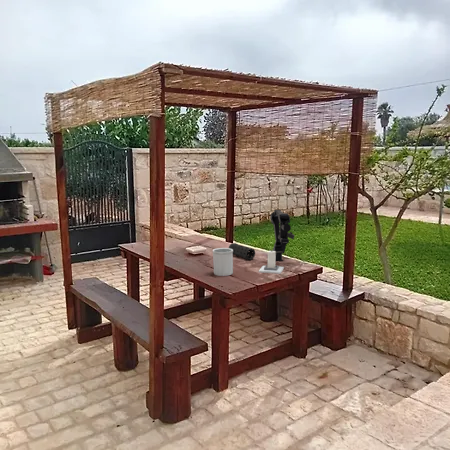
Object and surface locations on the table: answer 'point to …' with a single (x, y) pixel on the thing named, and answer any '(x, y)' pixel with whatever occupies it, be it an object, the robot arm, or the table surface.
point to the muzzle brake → (242, 251)
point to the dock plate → (271, 269)
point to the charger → (271, 259)
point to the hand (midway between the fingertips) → (283, 249)
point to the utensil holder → (223, 261)
